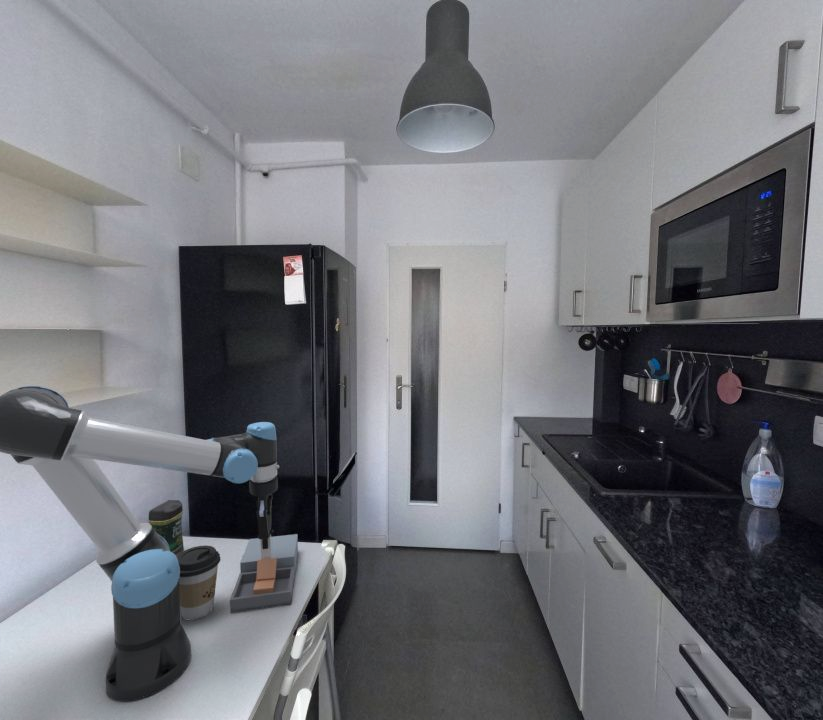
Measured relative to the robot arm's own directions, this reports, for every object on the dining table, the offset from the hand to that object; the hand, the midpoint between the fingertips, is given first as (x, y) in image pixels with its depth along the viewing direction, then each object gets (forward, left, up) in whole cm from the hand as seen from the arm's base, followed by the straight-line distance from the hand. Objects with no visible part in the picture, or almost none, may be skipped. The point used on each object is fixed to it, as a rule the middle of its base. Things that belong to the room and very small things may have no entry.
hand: (266, 557), depth 113 cm
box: (-5, 0, -8) cm, 9 cm away
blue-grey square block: (+9, 0, -8) cm, 12 cm away
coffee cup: (-8, +16, -8) cm, 20 cm away
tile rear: (0, 0, -3) cm, 3 cm away
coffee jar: (+20, +33, -8) cm, 40 cm away
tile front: (-5, 0, -5) cm, 7 cm away
